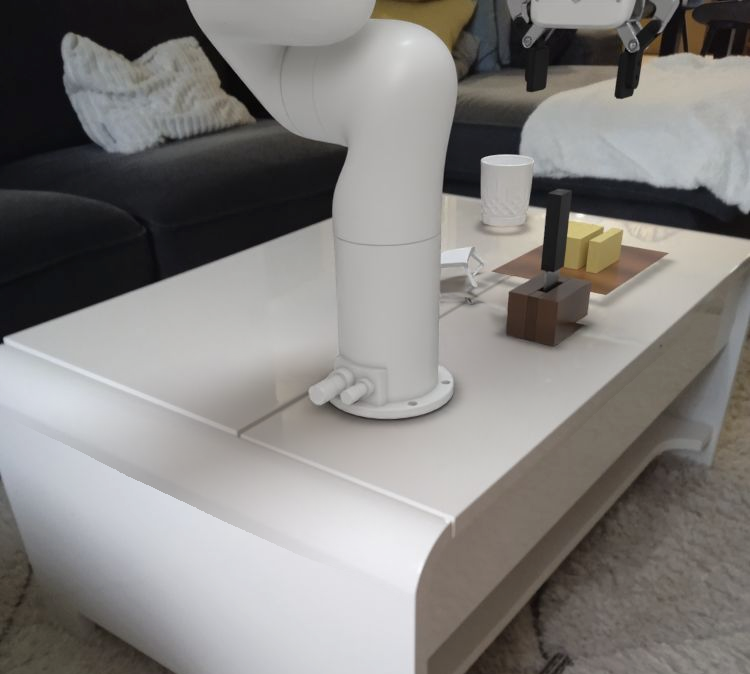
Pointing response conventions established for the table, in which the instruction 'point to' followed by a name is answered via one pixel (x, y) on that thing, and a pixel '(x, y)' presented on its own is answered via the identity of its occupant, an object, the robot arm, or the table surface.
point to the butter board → (602, 281)
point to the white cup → (505, 189)
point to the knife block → (547, 309)
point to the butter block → (579, 243)
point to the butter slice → (604, 250)
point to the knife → (555, 236)
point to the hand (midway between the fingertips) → (578, 93)
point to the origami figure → (462, 263)
